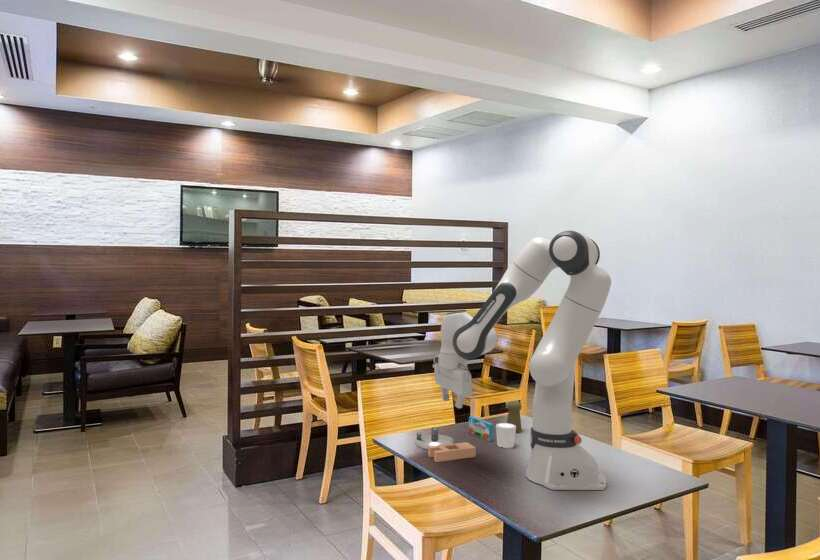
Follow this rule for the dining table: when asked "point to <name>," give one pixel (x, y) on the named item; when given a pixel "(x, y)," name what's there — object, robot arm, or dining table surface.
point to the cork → (514, 415)
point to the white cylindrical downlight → (505, 435)
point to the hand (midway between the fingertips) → (452, 404)
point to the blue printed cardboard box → (481, 428)
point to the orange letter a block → (452, 451)
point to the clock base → (434, 443)
